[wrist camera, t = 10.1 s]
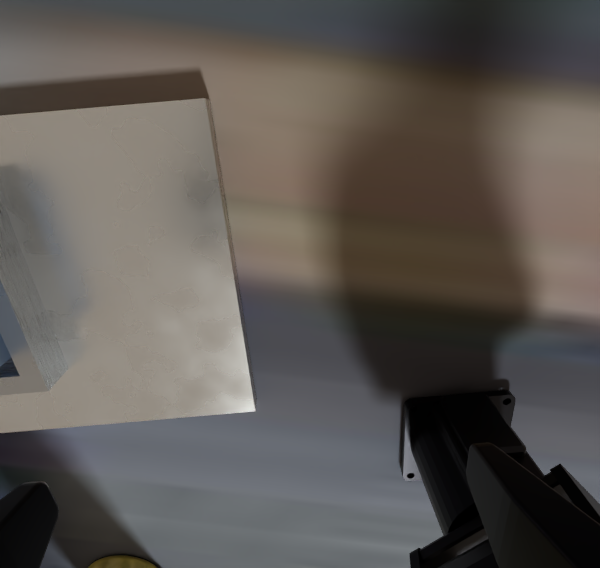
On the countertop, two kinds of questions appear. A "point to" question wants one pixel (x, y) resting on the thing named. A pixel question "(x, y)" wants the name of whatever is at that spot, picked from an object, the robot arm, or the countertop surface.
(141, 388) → the chassis plate
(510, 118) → the countertop surface
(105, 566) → the vase
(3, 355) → the block
